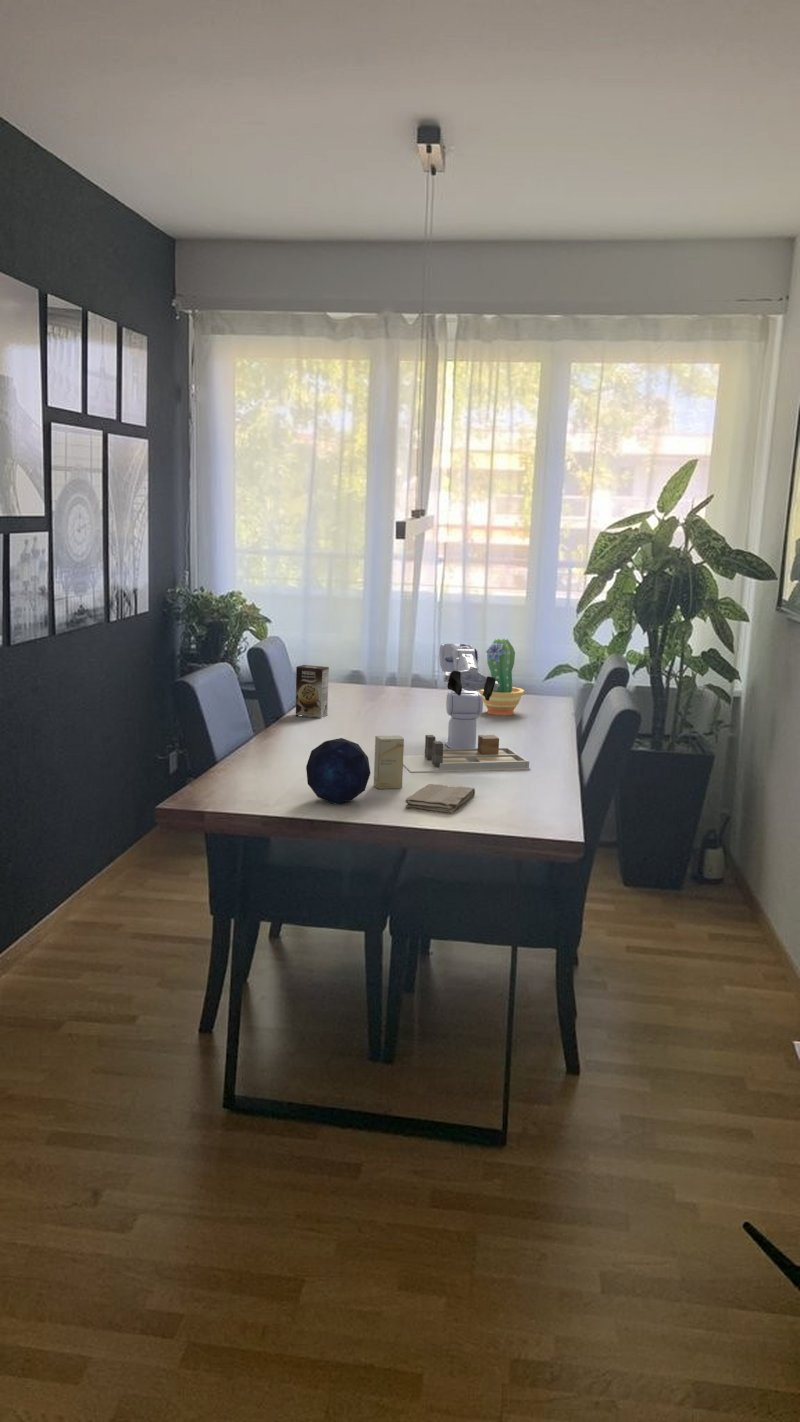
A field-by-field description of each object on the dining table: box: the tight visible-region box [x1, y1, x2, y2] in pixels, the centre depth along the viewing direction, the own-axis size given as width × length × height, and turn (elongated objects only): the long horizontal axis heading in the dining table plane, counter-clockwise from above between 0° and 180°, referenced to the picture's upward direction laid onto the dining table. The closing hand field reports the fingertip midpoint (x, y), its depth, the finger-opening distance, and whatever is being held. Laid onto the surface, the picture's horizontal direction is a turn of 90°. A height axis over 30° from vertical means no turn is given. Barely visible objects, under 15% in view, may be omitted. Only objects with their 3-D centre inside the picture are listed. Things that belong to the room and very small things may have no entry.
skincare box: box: [373, 735, 405, 790], centre depth 247 cm, size 6×4×12 cm
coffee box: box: [295, 664, 330, 719], centre depth 334 cm, size 9×6×16 cm
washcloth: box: [404, 783, 476, 815], centre depth 236 cm, size 12×18×3 cm, turn 161°
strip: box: [424, 734, 507, 759], centre depth 279 cm, size 6×22×6 cm, turn 102°
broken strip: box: [432, 740, 517, 766], centre depth 271 cm, size 6×22×6 cm, turn 102°
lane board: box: [403, 746, 531, 774], centre depth 275 cm, size 18×32×2 cm, turn 102°
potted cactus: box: [478, 638, 525, 716], centre depth 347 cm, size 15×15×25 cm
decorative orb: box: [305, 737, 371, 804], centre depth 234 cm, size 14×15×15 cm
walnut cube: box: [477, 734, 500, 755], centre depth 280 cm, size 4×4×4 cm
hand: (474, 694), depth 270 cm, fingers open, 7 cm apart
